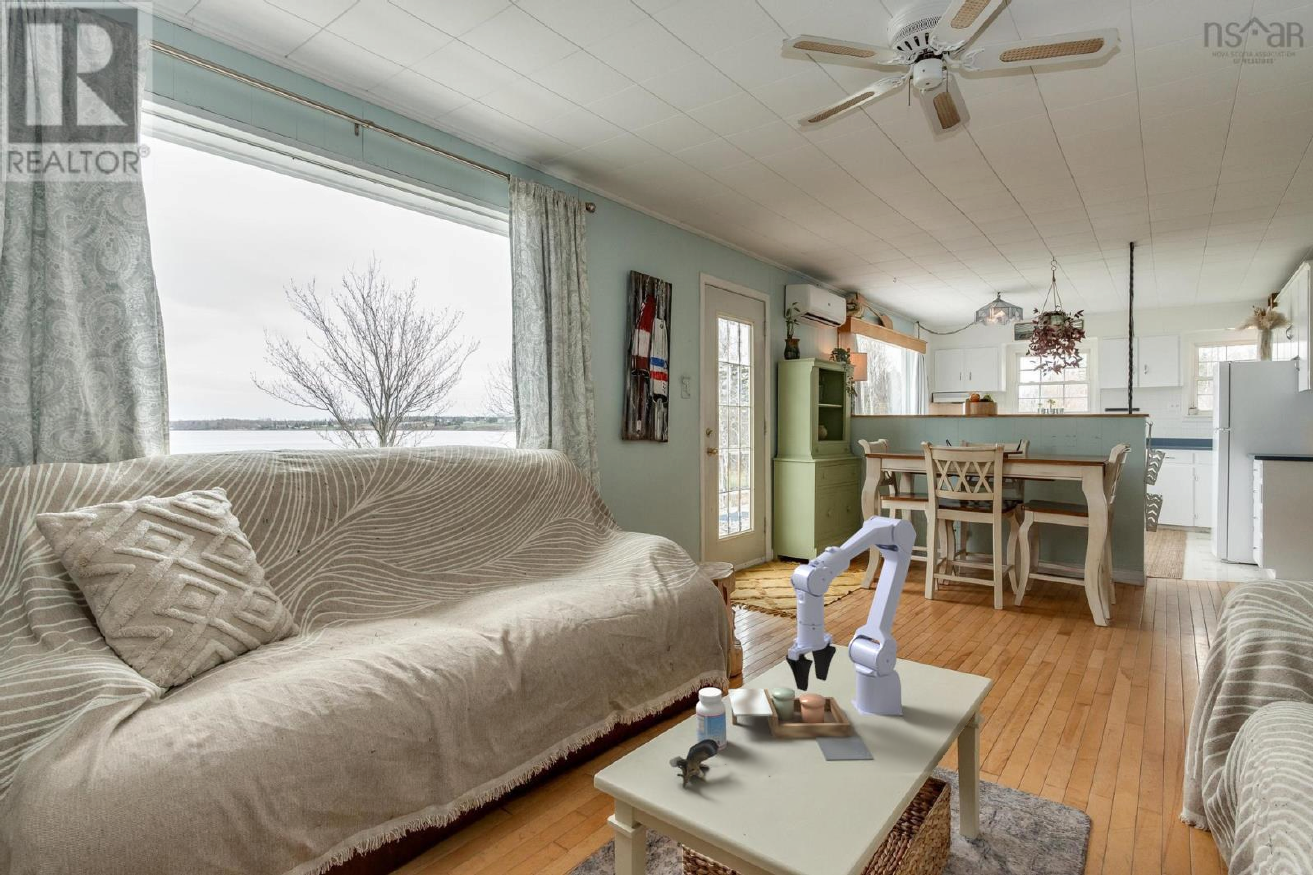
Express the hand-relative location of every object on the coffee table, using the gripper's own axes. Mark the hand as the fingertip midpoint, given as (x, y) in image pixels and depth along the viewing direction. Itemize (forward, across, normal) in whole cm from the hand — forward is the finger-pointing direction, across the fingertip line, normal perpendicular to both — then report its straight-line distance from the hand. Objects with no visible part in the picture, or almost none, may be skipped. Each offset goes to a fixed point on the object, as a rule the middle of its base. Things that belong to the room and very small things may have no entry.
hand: (811, 684), depth 139 cm
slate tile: (+9, +5, +10) cm, 15 cm away
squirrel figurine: (+10, +32, -5) cm, 34 cm away
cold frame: (+9, +3, -5) cm, 11 cm away
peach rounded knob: (+9, 0, 0) cm, 9 cm away
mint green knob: (+9, +1, -7) cm, 11 cm away
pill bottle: (+10, +22, -10) cm, 26 cm away
